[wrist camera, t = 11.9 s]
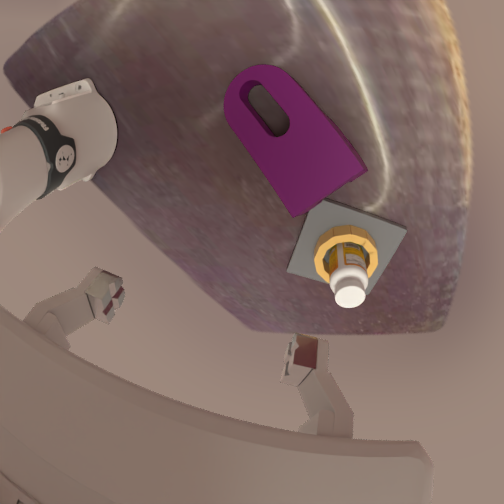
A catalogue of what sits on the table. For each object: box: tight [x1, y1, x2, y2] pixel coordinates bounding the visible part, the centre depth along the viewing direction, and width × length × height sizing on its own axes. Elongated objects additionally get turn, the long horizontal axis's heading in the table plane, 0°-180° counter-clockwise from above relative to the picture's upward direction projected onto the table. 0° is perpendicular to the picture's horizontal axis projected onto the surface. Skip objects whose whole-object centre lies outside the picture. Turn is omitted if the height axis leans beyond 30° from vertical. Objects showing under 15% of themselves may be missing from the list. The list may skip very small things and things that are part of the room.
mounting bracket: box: [224, 65, 368, 218], centre depth 32 cm, size 10×8×18 cm
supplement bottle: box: [329, 242, 368, 308], centre depth 38 cm, size 5×5×10 cm
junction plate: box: [286, 198, 407, 295], centre depth 41 cm, size 15×14×4 cm
